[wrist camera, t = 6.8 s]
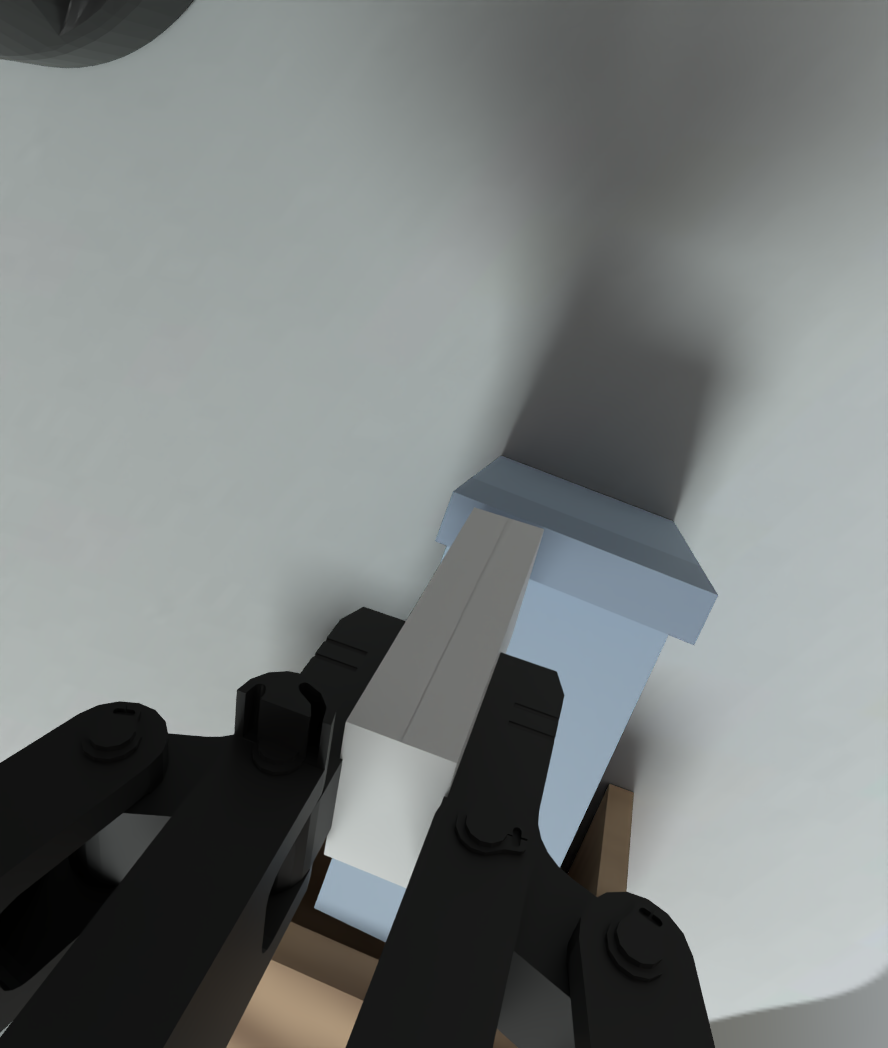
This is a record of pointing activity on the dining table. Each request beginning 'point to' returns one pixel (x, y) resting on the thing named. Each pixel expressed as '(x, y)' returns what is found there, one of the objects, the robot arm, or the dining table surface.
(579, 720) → the lidded box
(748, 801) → the dining table surface
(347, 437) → the dining table surface
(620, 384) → the dining table surface
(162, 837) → the robot arm
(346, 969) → the open wooden crate
